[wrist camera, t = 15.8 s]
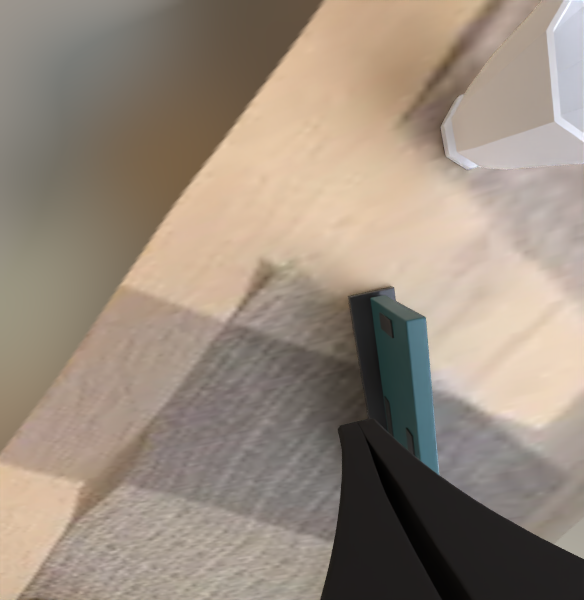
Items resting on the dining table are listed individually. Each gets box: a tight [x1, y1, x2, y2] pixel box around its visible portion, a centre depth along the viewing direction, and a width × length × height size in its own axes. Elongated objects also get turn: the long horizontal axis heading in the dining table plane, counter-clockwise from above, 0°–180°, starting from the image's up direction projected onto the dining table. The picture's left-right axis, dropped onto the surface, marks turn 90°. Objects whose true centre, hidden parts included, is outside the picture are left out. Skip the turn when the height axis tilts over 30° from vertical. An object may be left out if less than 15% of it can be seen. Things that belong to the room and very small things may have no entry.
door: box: [371, 295, 439, 475], centre depth 17 cm, size 12×1×5 cm, turn 11°
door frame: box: [348, 287, 396, 432], centre depth 16 cm, size 16×4×10 cm, turn 12°
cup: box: [441, 0, 584, 170], centre depth 13 cm, size 7×10×8 cm
